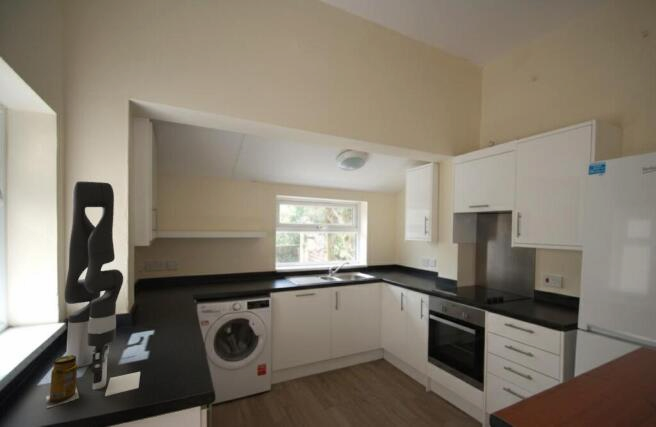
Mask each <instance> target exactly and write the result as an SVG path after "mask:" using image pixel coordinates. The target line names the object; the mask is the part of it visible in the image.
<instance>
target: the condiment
mask: <svg viewBox="0 0 656 427" xmlns="http://www.w3.org/2000/svg"><path fill="white" fill-rule="evenodd" d="M77 371H78V368H77V364H76V356H74V355H69V356H66V355H63V356H61V357H58V358H56V359H55V360H54V361H53V369H52V370H51V372H50V373H51V374H50V390H49V394H48V395H46V396H45V402H46V404H45V406H46V409H48V408H52V407H56V406H59V405H62V404H65V403H68V402H71V401H75V400H77V399H80V396H79V392H78V388H77V378H78V377H77V373H78V372H77Z"/></svg>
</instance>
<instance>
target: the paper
mask: <svg viewBox="0 0 656 427" xmlns="http://www.w3.org/2000/svg"><path fill="white" fill-rule="evenodd" d="M140 377H141V371H137V372H132V373H127V374H123V375H118V376H114V377H110V378H109V381H108V384H107V388H106V390H105V393H104V394H105V395H104V397H109V396H111V395H116V394H119V393H124V392H127V391H132V390H136V389H139V388H140V387H139V386H140Z"/></svg>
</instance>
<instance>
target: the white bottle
mask: <svg viewBox="0 0 656 427" xmlns="http://www.w3.org/2000/svg"><path fill="white" fill-rule="evenodd" d="M108 355H109V353H107V354H106V361H105V363H104V364H103V370H102V381H101V382H99V383H95V384H94V383H93V382H92V390H99V389H103V388H104V387H106V386H107V372H108V370H107V369H108V357H107V356H108ZM102 360H103V359H102ZM97 367H100V364H97V365H96V368H97Z"/></svg>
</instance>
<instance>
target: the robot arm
mask: <svg viewBox="0 0 656 427" xmlns="http://www.w3.org/2000/svg"><path fill="white" fill-rule="evenodd" d="M71 202H72V203H71V206H72V213H71V214H72V215H71V216H72V217H71V220H72V221H71V222H72V223H71V232H70V238H69V250H68V252H69V253H68V269H67V270H68V271H67V275H66V283H65V289H64V301H65V302H66V303H67V305H68V304H69V305H73V304H74V305H75V304H82V303H88V304H86V305H85V306H84V307H81V308H80V309H77V310H74V311H73V312H70V314H69V315H68V319H67V337H66V355H65V356H69V355H74V356H76V364H77V369H78V368H82V367H85V366H88V365H91V373H92V374H93V375H92V384H93V383H94V384H95V383H99V382H101V381H102V370H103V364H104V363H105V361H106V354H107V353H108V354H109V351H110V350H109V349H110V345H109V344H111V343H113V342H114V341H115V340H116V329H117V316H116V312H117V306H116V305H117V300H118V298H119V294H120V293H121V292H120V291H121V289H122V286H123V285H124V284H123V283H124V275H123V273H122V271H120V270H119V269H107V270H102V268H103V266H104V265H107V264H111V263H112V262H114V261H115V247H114V239H113V238H114V237H113V235H114V234H113V230H114V229H113V228H114V215H115V214H114V211H115V194H114V188H113V186H112V185H111V184H110V183H109V182H102V181H87V180H85V181H81V180H79V181H76V182H75V183H74V185H73V188H72V201H71ZM86 208H101V209H102V212H101V217H100V219H99V221H98V222H97V224H96V225H95V226H94V225H93V223H92V222H91V221H90V219H89V217H88V216H87V213H86ZM86 269H87V270H86ZM85 271H86V273H85V277H84V279H82V278H81V275H82V274H83V273H84V272H85ZM80 278H81V279H80ZM102 292H104V293H103V294H101V293H102ZM107 358H108V356H107ZM102 359H103V360H102ZM97 364H100V367H97V368H96V365H97Z"/></svg>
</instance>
